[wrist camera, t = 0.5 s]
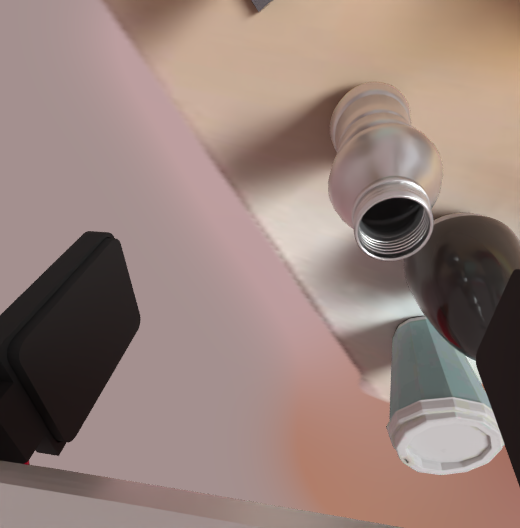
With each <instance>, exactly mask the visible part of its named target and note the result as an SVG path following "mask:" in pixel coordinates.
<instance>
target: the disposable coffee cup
mask: <svg viewBox="0 0 520 528" xmlns="http://www.w3.org/2000/svg"><path fill="white" fill-rule="evenodd" d="M386 427H387V430H388V434H389V437H390V440H391V442H392V445H393V447H394V448H395V449H396V451H397V453H398V456H399V458H400V460H401V461H402V462H403V463H404V464H406V465H407V466H409V467H411V468H412V469H414V470H415V471H417V472H423V473H430V474H438V475H445V474H453V473H461V472H467V471H470V470H472V469H475V468H477V467H480V466H482V465H484V464H487V463H489V462H490V461H491V460H492V459H493V458H494V457H495V456H496V455H497V454H498V453H499V451H500V450H501V449H502V447H503V446H504V445H505V444H504V441H503V439H502V436H501V433H500V430H499V427H498V425H497V422H496V419H495V416H494V413H493V411H492V408H491V405H490V402H489V399H488V397H487V394H486V392H485V390H484V389H483V387H482V385H481V383H480V381H479V380H478V378H477V376H476V374H475V373H474V371H473V369H472V367H471V365H470V364H469V362H468V360H467V358H466V357H465V355H464V354H462V353H460V352H459V351H457V350H456V349H455V348H453V347H452V346H451V345H450V344H449V343H448V342H447V341H446V340H445V339H444V338H443V337H442V336H441V335H440V334H439V333H438V332H437V331H436V329H435V328H434V327H433V326H432V324H431V323H430V322H429V320H428V319H427V318H426V317H425V316H422V317H416V318H410V319H408V320H407V321H405V322H403V323H402V324H400V325H399V326H398V328H397V330H396V332H395V334H394V336H393V338H392V365H391V393H390V421H389V423H388V425H387V426H386Z"/></svg>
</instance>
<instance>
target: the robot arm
mask: <svg viewBox="0 0 520 528" xmlns="http://www.w3.org/2000/svg"><path fill="white" fill-rule="evenodd" d="M139 325H140V314H139V310H138V306H137V302H136V299H135V295H134V292H133V288H132V284H131V280H130V277H129V273H128V269H127V266H126V262H125V258H124V255H123V251H122V247H121V244H120V241H119V240H118V239H115V238H114V236H113V235H112V234H111V233H107V232H93V231H92V232H91V231H88V232H85V233H84V234H83V235H82V236H81V237H80V238H79V239H78V240H77V241H76V242H75V243H74V244H73V245H72V246H71V247H70V248H69V249H68V250H66V252H65V253H64V254H62V255H61V256H60V258H58V259H57V260H56V261H55V262H54V263H53V264H52V265H51V266H50V267H49V268H48V269H47V270H46V271H45V272H44V273H43V274H42V275H41V276H40V277H39V278H38V279H37V280H36V281H35V282H34V283H33V284H32V285H31V286H30V287H29V288H28V289H27V290H26V291H25V292H24V293H23V294H22V295H21V296H20V297H18V298H17V299H16V300H15V301H14V302H13V303H12V304H11V305H10V306H9V307H8V308H7V309H6V310H5V311H4V312H3V313H2V314H1V315H0V528H401V527H396V526H390V525H384V524H379V523H373V522H367V521H362V520H356V519H350V518H345V517H339V516H333V515H327V514H321V513H315V512H310V511H303V510H298V509H292V508H286V507H280V506H275V505H268V504H262V503H256V502H251V501H245V500H239V499H233V498H228V497H222V496H216V495H210V494H204V493H198V492H192V491H186V490H180V489H175V488H167V487H162V486H156V485H150V484H144V483H138V482H132V481H126V480H120V479H114V478H108V477H101V476H96V475H90V474H83V473H78V472H72V471H66V470H59V469H53V468H46V467H40V466H33V465H30V464H29V459H30V457H31V456H32V454H33V453H34V451H35V450H36V451H37V452H39V453H45V454H51V455H57V456H58V455H59V454H60V452H61V451H62V449H63V448H64V446H65V444H66V442H70V441H72V440H73V439H74V438H75V436H76V435H77V433H78V432H79V430H80V428H81V427H82V424H83V423H84V421H85V420H86V418H87V416H88V415H89V413H90V411H91V409H92V408H93V406H94V404H95V403H96V401H97V399H98V397H99V396H100V394H101V392H102V390H103V389H104V387H105V385H106V384H107V382H108V380H109V378H110V377H111V375H112V373H113V372H114V370H115V368H116V366H117V364H118V363H119V361H120V360H121V358H122V356H123V354H124V353H125V351H126V349H127V348H128V346H129V344H130V342H131V341H132V339H133V337H134V335H135V334H136V332H137V330H138V328H139ZM476 365H477V369H478V371H479V374H480V377H481V380H482V383H483V385H484V388H485V391H486V394H487V397H488V399H489V402H490V405H491V408H492V411H493V413H494V416H495V419H496V422H497V425H498V427H499V430H500V433H501V436H502V439H503V441H504V444H505V447H506V450H507V452H508V455H509V458H510V461H511V464H512V466H513V469H514V472H515V475H516V478H517V480H518V483H519V486H520V269H516V270H514V271H513V272H512V274H511V276H510V278H509V281H508V283H507V285H506V287H505V290H504V292H503V294H502V296H501V299H500V301H499V303H498V305H497V307H496V310H495V312H494V314H493V316H492V319H491V321H490V323H489V325H488V328H487V330H486V332H485V334H484V337H483V339H482V341H481V343H480V345H479V348H478V350H477V353H476Z"/></svg>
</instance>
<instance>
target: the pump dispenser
mask: <svg viewBox="0 0 520 528" xmlns="http://www.w3.org/2000/svg"><path fill="white" fill-rule="evenodd" d="M516 269H520V241H519V239H518V238H517V236H516V235H515V233H514V232H513V231H512V230H511V229H510V228H509V227H508V226H506V225H505V224H504V223H502V222H500V221H498V220H496V219H493V218H490V217H485V216H483V215H479V214H474V213H454V214H449V215H445V216H442V217H440V218H438V219H435V220H434V221H433V230H432V234H431V236H430V238H429V240H428V241H427V243H426V244H425V245H424V246H423V247H422V248H421V249H420V250H419V251H418V252H416V253H415V254H413V255H411V256H409V257H407V258H405V260H404V273H405V278H406V281H407V284H408V287H409V289H410V291H411V293H412V295H413V297H414V299H415V301H416V302H417V304H418V306H419V308H420V309H421V311H422V312H423V314H424V315H425V316H426V318H427V319H428V320H429V322H430V323H431V324H432V326H433V327H434V328H435V329H436V331H437V332H438V333H439V334H440V335H441V336H442V337H443V338H444V339H445V340H446V341H447V342H448V343H449V344H450V345H451V346H452V347H453V348H455V349H456V350H457V351H459V352H460V353H462V354H464V355H465V356H467V357H469V358H471V359H473V360H476V353H477V350H478V348H479V345H480V343H481V341H482V339H483V337H484V334H485V332H486V330H487V328H488V325H489V323H490V321H491V319H492V316H493V314H494V312H495V310H496V307H497V305H498V303H499V301H500V299H501V296H502V294H503V292H504V290H505V287H506V285H507V283H508V281H509V278H510V276H511V274H512V272H513V271H514V270H516Z"/></svg>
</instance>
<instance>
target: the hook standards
mask: <svg viewBox="0 0 520 528" xmlns="http://www.w3.org/2000/svg"><path fill="white" fill-rule="evenodd" d="M272 1H273V0H252V2H253V4H254V5H255V7H256V8H257V10H258V12H260V11H262V10H263V9H264V8H265V7H266V6H267V5H269V4H270V3H271V2H272Z"/></svg>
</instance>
